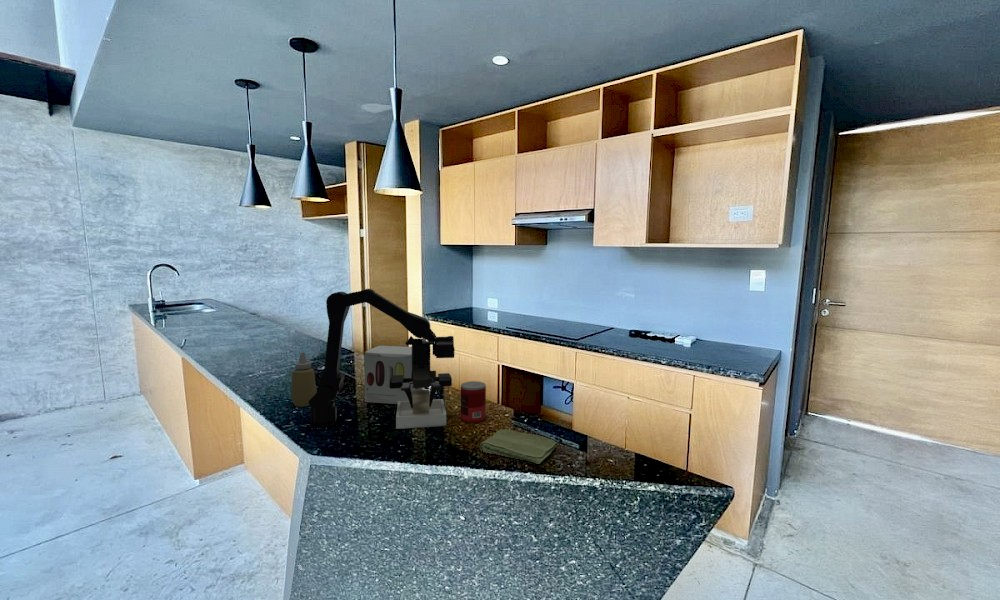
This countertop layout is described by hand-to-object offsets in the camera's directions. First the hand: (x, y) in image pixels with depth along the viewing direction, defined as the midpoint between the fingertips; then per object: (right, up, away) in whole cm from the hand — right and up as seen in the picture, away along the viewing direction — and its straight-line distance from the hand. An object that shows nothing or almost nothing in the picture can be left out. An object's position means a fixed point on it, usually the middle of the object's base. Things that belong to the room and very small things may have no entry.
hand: (420, 407), depth 128 cm
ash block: (0, -1, 0) cm, 1 cm away
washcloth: (+30, -6, -21) cm, 37 cm away
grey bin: (0, -4, 0) cm, 4 cm away
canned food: (+16, -4, +1) cm, 17 cm away
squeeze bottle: (-42, -2, +12) cm, 44 cm away
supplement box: (-13, -2, +20) cm, 24 cm away
